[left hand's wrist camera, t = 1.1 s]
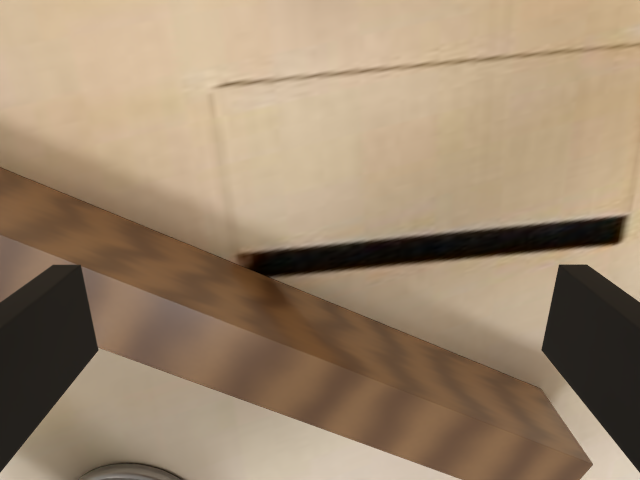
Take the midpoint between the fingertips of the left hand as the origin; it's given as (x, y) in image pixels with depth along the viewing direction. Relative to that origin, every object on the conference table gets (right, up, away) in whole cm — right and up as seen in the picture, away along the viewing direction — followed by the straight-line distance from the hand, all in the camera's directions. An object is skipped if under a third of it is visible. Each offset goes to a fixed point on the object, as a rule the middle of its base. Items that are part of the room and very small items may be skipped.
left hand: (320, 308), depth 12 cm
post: (-15, 0, +25) cm, 29 cm away
